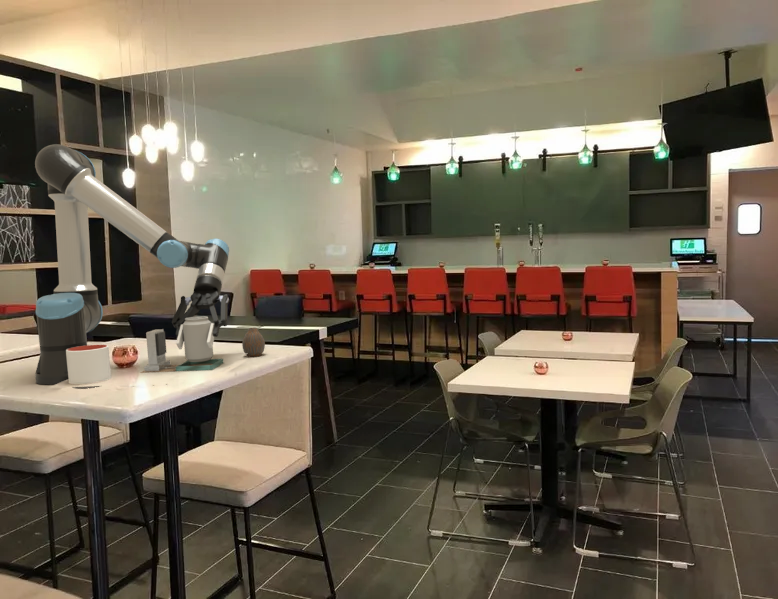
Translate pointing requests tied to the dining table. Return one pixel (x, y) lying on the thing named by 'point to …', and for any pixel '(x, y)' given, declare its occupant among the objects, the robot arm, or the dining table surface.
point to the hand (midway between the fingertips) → (194, 345)
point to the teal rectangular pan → (192, 366)
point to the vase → (253, 343)
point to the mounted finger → (156, 351)
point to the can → (197, 339)
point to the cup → (88, 365)
